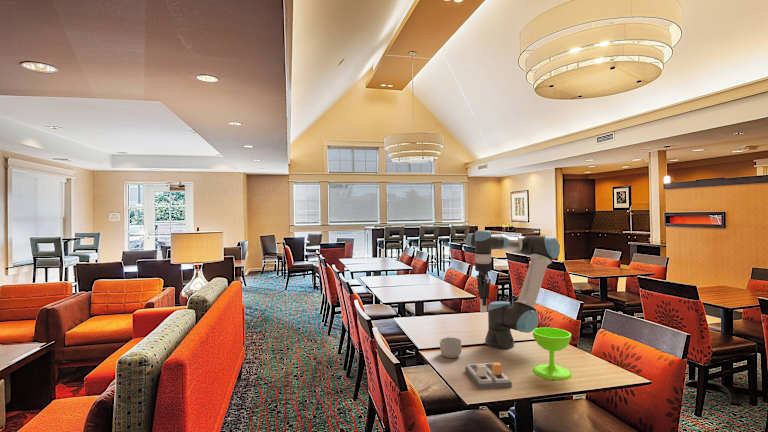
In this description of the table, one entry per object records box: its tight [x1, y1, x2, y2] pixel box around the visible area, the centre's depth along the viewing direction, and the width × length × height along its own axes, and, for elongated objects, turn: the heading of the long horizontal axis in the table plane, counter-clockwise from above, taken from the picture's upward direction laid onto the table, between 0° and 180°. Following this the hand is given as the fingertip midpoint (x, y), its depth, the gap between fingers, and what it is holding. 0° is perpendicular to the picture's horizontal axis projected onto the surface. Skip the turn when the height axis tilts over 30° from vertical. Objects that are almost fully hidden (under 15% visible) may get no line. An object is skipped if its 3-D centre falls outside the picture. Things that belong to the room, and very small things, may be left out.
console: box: [464, 362, 513, 390], centre depth 169 cm, size 14×18×3 cm
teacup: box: [439, 336, 462, 359], centre depth 198 cm, size 14×11×8 cm
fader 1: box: [476, 363, 487, 379], centre depth 165 cm, size 3×3×5 cm
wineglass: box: [532, 326, 572, 381], centre depth 175 cm, size 16×16×18 cm
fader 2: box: [491, 361, 503, 377], centre depth 166 cm, size 3×3×5 cm
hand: (483, 311), depth 187 cm, fingers closed
